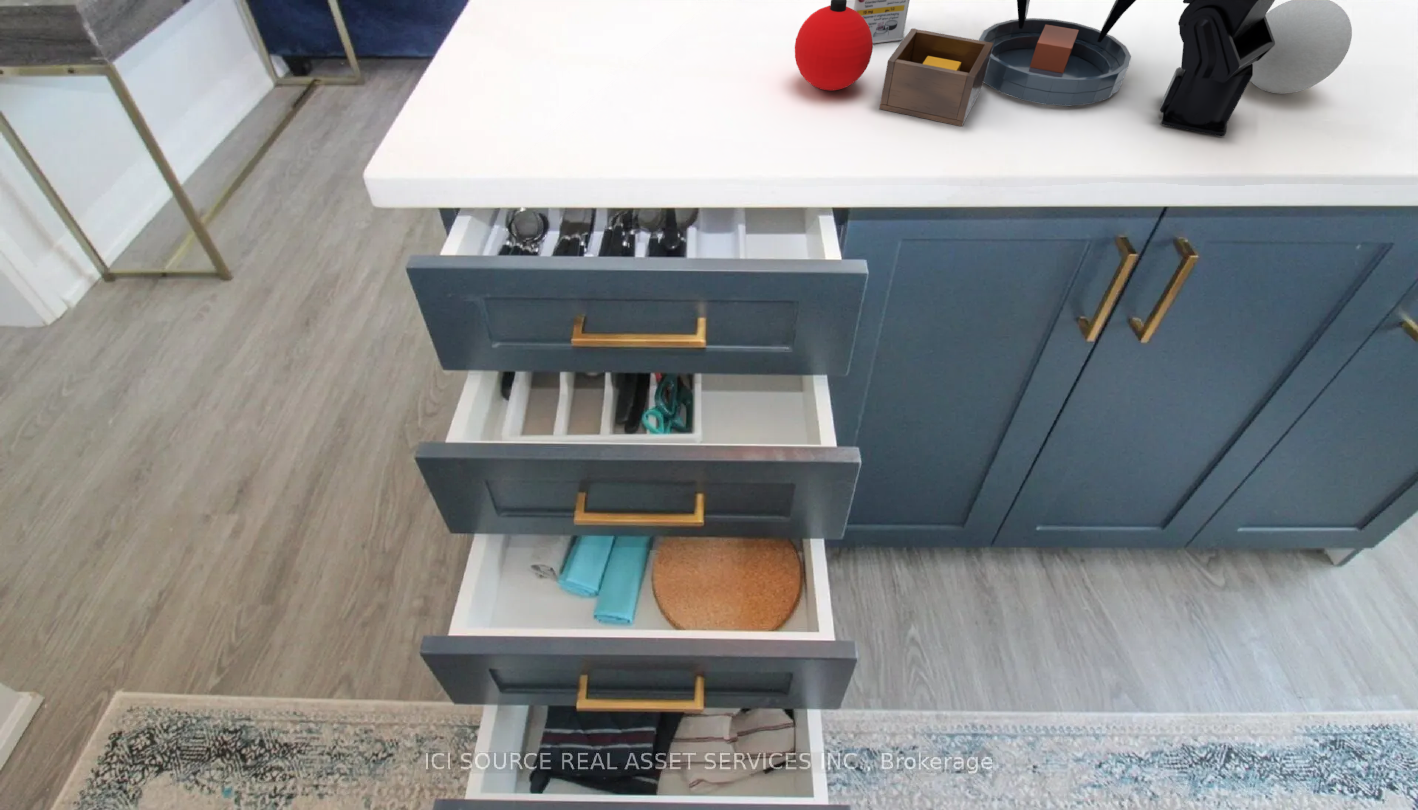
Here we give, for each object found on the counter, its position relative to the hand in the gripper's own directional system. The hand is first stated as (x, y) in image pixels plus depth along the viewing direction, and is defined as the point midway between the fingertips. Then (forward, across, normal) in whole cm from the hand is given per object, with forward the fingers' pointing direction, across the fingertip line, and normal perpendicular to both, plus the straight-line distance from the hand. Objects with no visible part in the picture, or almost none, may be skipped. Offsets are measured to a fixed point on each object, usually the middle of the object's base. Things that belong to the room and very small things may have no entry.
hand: (1059, 34), depth 92 cm
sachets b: (+3, 0, 0) cm, 3 cm away
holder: (+4, +11, +16) cm, 19 cm away
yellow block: (+3, +11, +15) cm, 19 cm away
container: (+4, +24, 0) cm, 24 cm away
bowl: (+4, 0, +4) cm, 5 cm away
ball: (+4, -25, -5) cm, 26 cm away
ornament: (+4, +23, +18) cm, 29 cm away
